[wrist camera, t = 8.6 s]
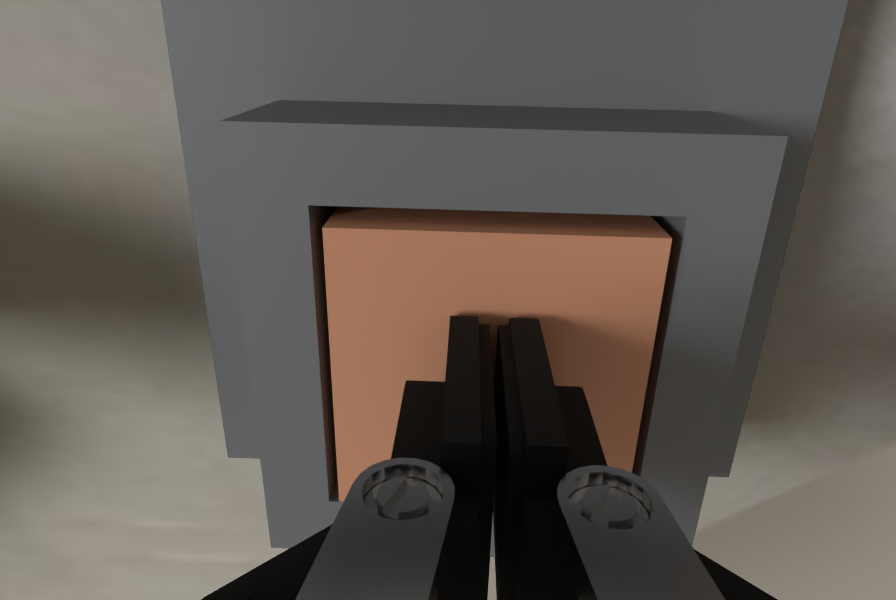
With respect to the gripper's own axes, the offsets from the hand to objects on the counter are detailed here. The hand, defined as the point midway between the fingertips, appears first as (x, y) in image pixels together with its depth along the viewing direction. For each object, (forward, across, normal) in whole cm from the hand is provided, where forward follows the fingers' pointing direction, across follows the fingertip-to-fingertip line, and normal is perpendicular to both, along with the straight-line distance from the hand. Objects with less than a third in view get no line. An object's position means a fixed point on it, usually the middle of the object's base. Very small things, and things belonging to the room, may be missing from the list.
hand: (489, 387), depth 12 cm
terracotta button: (+3, 0, 0) cm, 3 cm away
